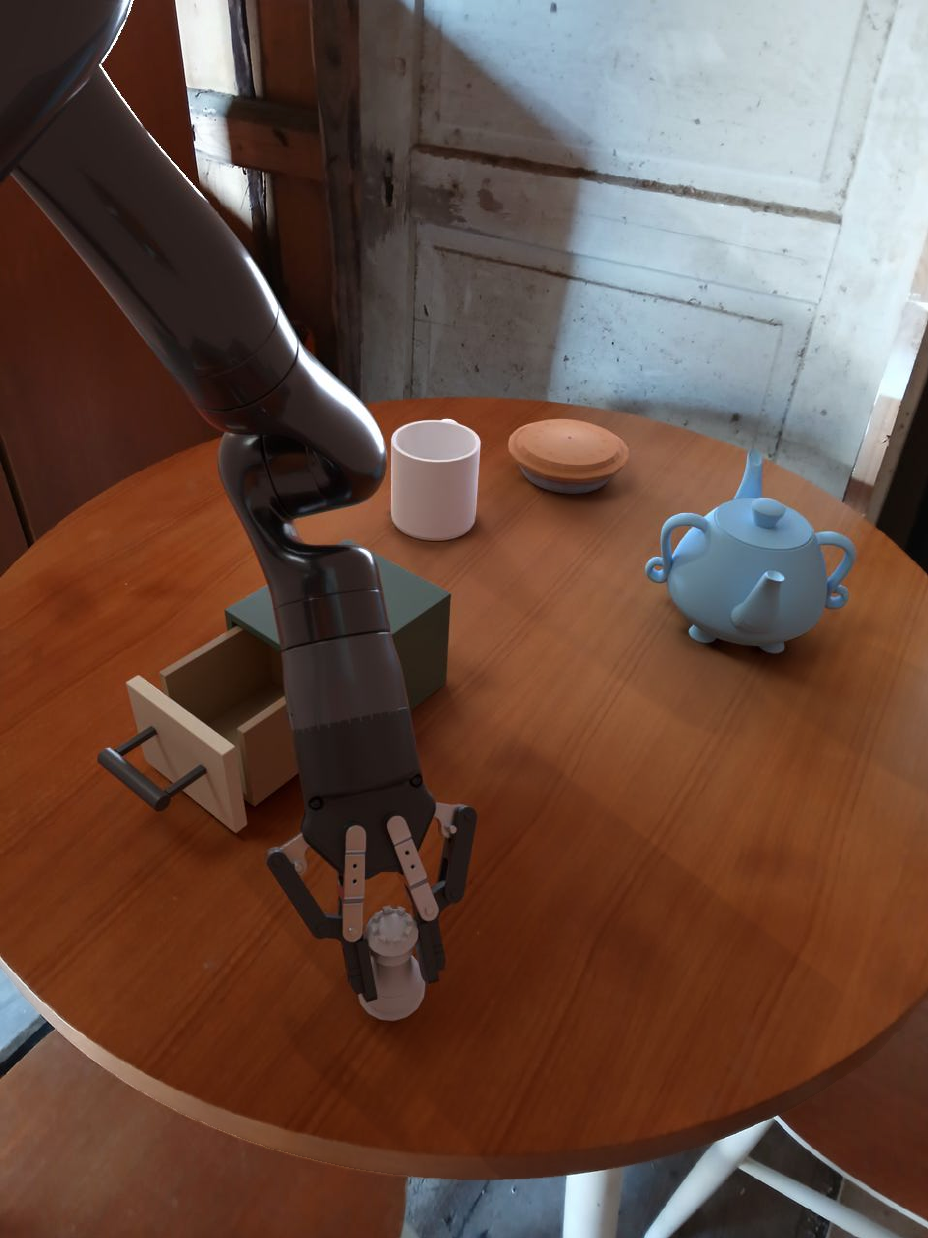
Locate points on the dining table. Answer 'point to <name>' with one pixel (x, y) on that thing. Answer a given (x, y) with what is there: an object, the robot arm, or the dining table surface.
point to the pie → (567, 455)
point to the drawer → (212, 729)
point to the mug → (434, 479)
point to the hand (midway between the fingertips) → (400, 987)
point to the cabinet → (412, 620)
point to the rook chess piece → (393, 964)
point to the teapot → (751, 569)
